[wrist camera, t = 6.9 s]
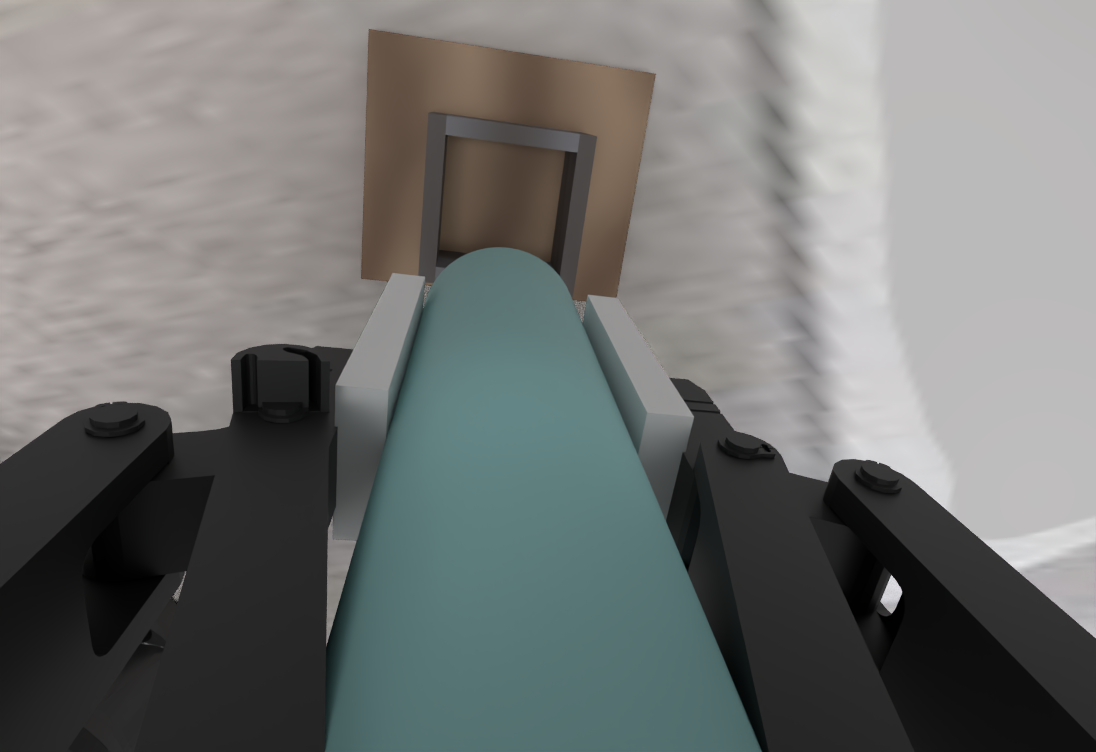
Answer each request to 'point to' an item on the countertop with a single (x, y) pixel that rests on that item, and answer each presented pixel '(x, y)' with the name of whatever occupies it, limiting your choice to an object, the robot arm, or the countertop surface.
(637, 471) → the dowel
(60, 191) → the countertop surface
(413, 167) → the bracket board
